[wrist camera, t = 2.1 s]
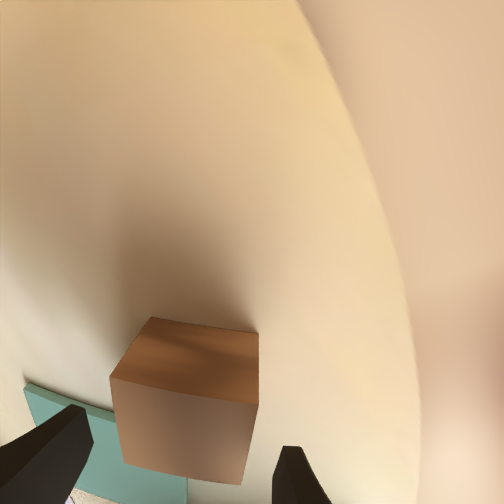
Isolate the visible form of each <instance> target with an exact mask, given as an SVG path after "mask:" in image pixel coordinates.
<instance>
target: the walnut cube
mask: <svg viewBox="0 0 504 504" xmlns="http://www.w3.org/2000/svg"><path fill="white" fill-rule="evenodd" d="M109 378H110V386H111V394H112V401H113V407H114V413H115V419H116V425H117V430H118V436H119V441H120V446H121V451H122V455H123V460H124V463H126V464H129V465H133V466H136V467H140V468H144V469H148V470H152V471H156V472H161V473H165V474H170V475H175V476H180V477H185V478H191V479H197V480H203V481H210V482H217V483H225V484H234V485H241V482H242V478H243V473H244V469H245V465H246V460H247V456H248V452H249V447H250V443H251V438H252V434H253V429H254V424H255V420H256V415H257V410H258V405H259V334H257V333H249V332H242V331H234V330H227V329H220V328H213V327H207V326H200V325H194V324H188V323H182V322H176V321H170V320H165V319H159V318H154V317H150V319H149V320H148V322H147V323H146V324H145V326H144V327H143V329H142V330H141V332H140V333H139V334H138V336H137V337H136V339H135V340H134V342H133V343H132V344H131V346H130V347H129V349H128V350H127V352H126V353H125V355H124V356H123V357H122V359H121V360H120V362H119V363H118V365H117V366H116V368H115V369H114V371H113V372H112V374H111V375H110V377H109Z"/></svg>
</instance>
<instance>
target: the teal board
mask: <svg viewBox="0 0 504 504" xmlns="http://www.w3.org/2000/svg"><path fill="white" fill-rule="evenodd" d="M23 390H24V393H25V396H26V399H27V402H28V405H29V408H30V411H31V414H32V416H33V419H34V422H35V424H36V427H37V426H39V425H40V424H42V423H43V422H45V421H46V420H48V419H49V418H51V417H52V416H54V415H55V414H57V413H58V412H60V411H61V410H63V409H64V408H66V407H67V406H69V405H70V404H75V405H77V406H80V407H83V408H85V409H86V414H87V418H88V422H89V426H90V430H91V433H92V437H93V441H94V444H93V447H92V450H91V453H90V455H89V458H88V461H87V463H86V465H85V467H84V469H83V471H82V473H81V475H80V476H79V478H78V480H77V482H76V484H75V486H74V487H75V488H78V489H80V490H83V491H85V492H88V493H91V494H94V495H96V496H99V497H102V498H105V499H108V500H111V501H114V502H117V503H120V504H187V478H185V477H180V476H175V475H170V474H165V473H161V472H156V471H152V470H148V469H144V468H140V467H136V466H133V465H129V464H126V463H124V460H123V455H122V451H121V446H120V441H119V436H118V430H117V425H116V419H115V413H113V412H110V411H106V410H103V409H100V408H97V407H93V406H90V405H87V404H84V403H81V402H78V401H75V400H73V399H70V398H67V397H64V396H61V395H59V394H56V393H54V392H51V391H48V390H46V389H43V388H41V387H38V386H36V385H34V384H31V383H28V384H27V385H26V387H25V388H24V389H23Z"/></svg>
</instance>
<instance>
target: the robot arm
mask: <svg viewBox="0 0 504 504" xmlns="http://www.w3.org/2000/svg"><path fill="white" fill-rule="evenodd" d="M93 444H94V441H93V437H92V433H91V430H90V426H89V422H88V418H87V414H86V409H85V408H83V407H80V406H77V405H75V404H70V405H69V406H67V407H66V408H64V409H63V410H61V411H60V412H58V413H57V414H55V415H54V416H52V417H51V418H49V419H48V420H46V421H45V422H43V423H42V424H40V425H39V426H37V427H36V428H34V429H33V430H31V431H29V432H28V433H26V434H24V435H22V436H21V437H19V438H17V439H15V440H14V441H12V442H10V443H8V444H6V445H4V446H1V447H0V504H74V503H73V501H72V499H71V498H70V496H69V495H70V493H71V491H72V489H73V488H74V486H75V484H76V482H77V480H78V478H79V476H80V475H81V473H82V471H83V469H84V467H85V465H86V463H87V461H88V458H89V455H90V453H91V450H92V447H93ZM272 504H332V503H331V501H330V500H329V498H328V497H327V495H326V493H325V492H324V490H323V489H322V487H321V485H320V484H319V482H318V480H317V478H316V476H315V474H314V472H313V471H312V469H311V467H310V465H309V462H308V460H307V458H306V456H305V454H304V451H303V449H302V448H301V447H299V446H283V448H282V451H281V454H280V457H279V460H278V463H277V465H276V468H275V471H274V474H273V478H272Z"/></svg>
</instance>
